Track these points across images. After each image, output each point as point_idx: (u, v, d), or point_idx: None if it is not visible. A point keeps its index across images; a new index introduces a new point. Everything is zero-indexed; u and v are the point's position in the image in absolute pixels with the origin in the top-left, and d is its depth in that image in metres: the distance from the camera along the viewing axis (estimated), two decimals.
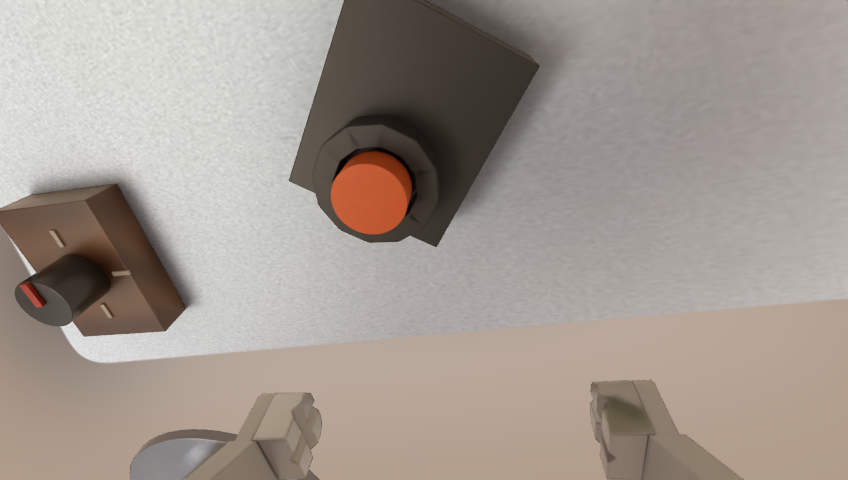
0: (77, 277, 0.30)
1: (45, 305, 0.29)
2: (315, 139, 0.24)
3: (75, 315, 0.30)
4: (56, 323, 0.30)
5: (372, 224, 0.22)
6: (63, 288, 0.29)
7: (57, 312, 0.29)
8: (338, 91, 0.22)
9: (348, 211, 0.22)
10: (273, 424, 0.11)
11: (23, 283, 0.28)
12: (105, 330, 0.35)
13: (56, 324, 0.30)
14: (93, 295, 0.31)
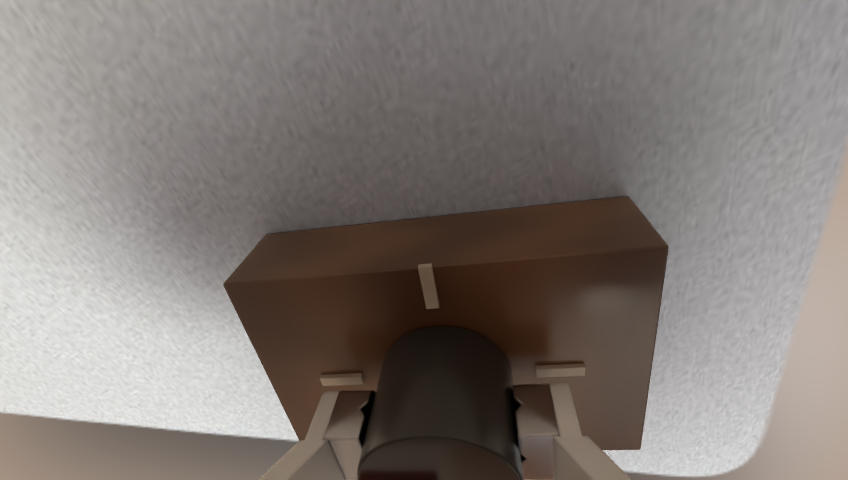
0: (397, 380, 0.11)
1: None
2: None
3: (487, 437, 0.09)
4: None
5: None
6: (390, 421, 0.10)
7: (466, 472, 0.09)
8: None
9: None
10: (343, 423, 0.11)
11: None
12: (629, 400, 0.13)
13: None
14: (464, 370, 0.11)
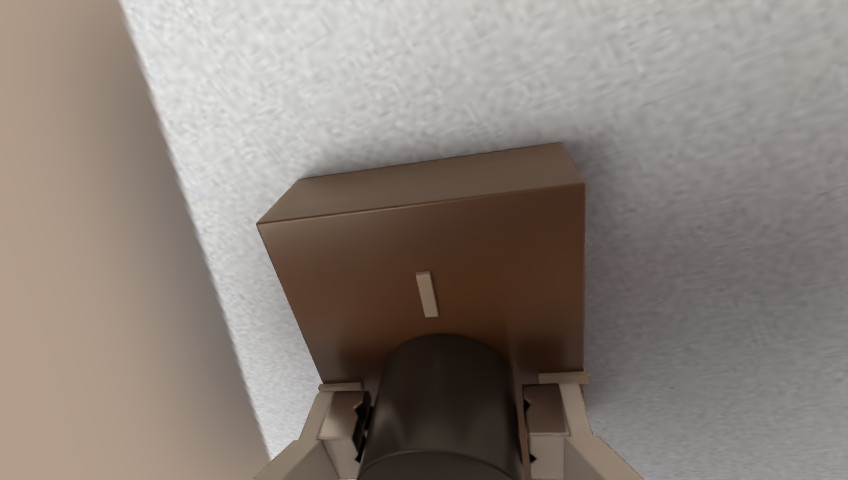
0: (401, 389, 0.10)
1: None
2: None
3: (495, 455, 0.09)
4: None
5: None
6: (395, 432, 0.09)
7: None
8: None
9: None
10: (337, 423, 0.11)
11: None
12: None
13: None
14: (471, 382, 0.10)
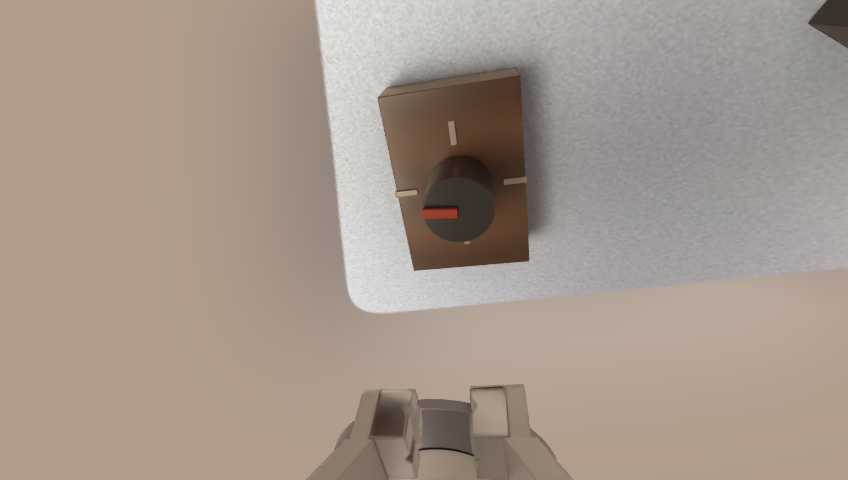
0: (441, 170, 0.24)
1: (458, 208, 0.23)
2: None
3: (481, 183, 0.22)
4: (489, 212, 0.23)
5: None
6: (440, 177, 0.23)
7: (471, 200, 0.23)
8: None
9: None
10: (387, 422, 0.11)
11: (422, 214, 0.23)
12: (448, 261, 0.29)
13: (490, 213, 0.23)
14: (472, 167, 0.24)
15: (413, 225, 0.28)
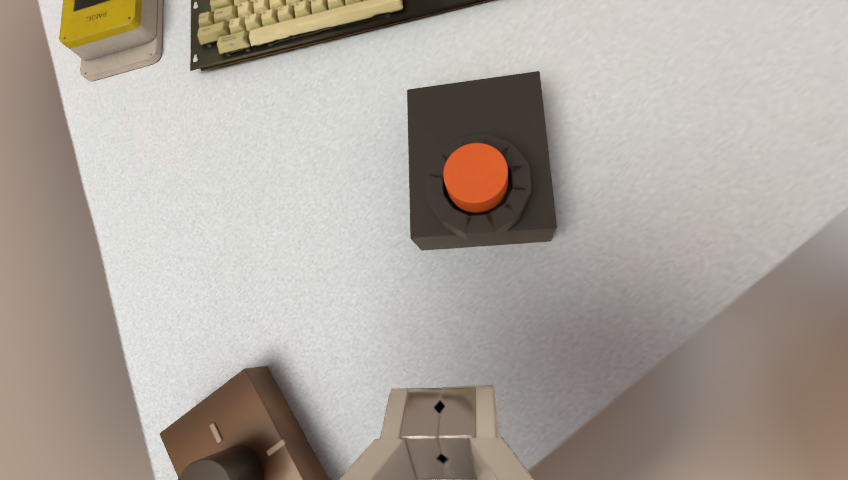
0: None
1: None
2: (419, 194, 0.30)
3: (214, 458, 0.26)
4: None
5: (487, 189, 0.25)
6: None
7: (208, 478, 0.26)
8: (423, 154, 0.31)
9: (464, 189, 0.26)
10: (418, 421, 0.11)
11: None
12: None
13: None
14: (223, 451, 0.28)
15: None
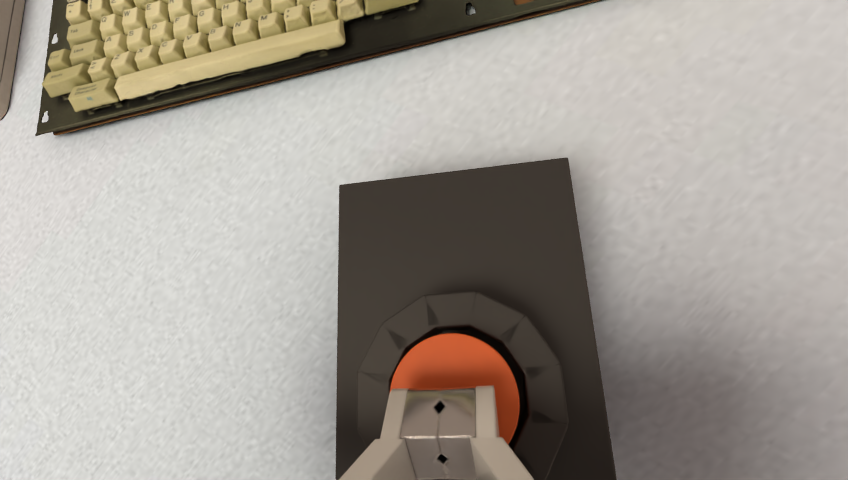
0: None
1: None
2: (355, 388, 0.16)
3: None
4: None
5: None
6: None
7: None
8: (363, 307, 0.17)
9: None
10: (418, 421, 0.11)
11: None
12: None
13: None
14: None
15: None
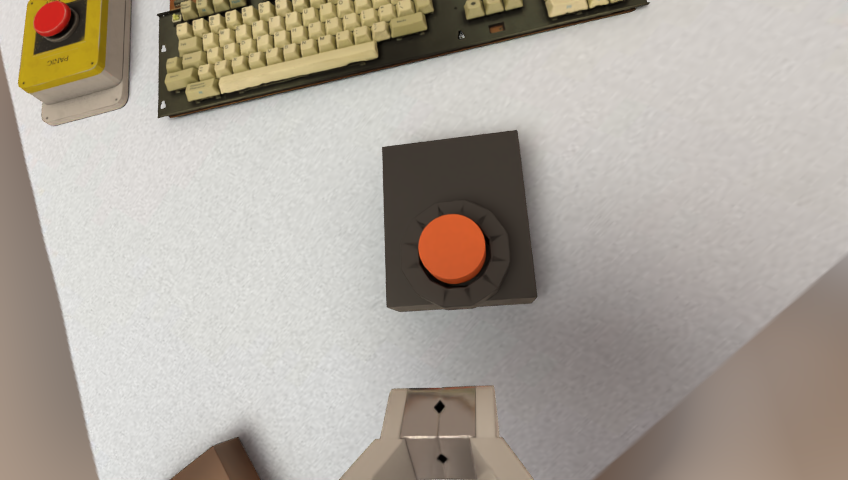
0: None
1: None
2: (396, 259, 0.29)
3: None
4: None
5: (464, 264, 0.24)
6: None
7: None
8: (399, 216, 0.30)
9: (440, 264, 0.25)
10: (418, 421, 0.11)
11: None
12: None
13: None
14: None
15: None
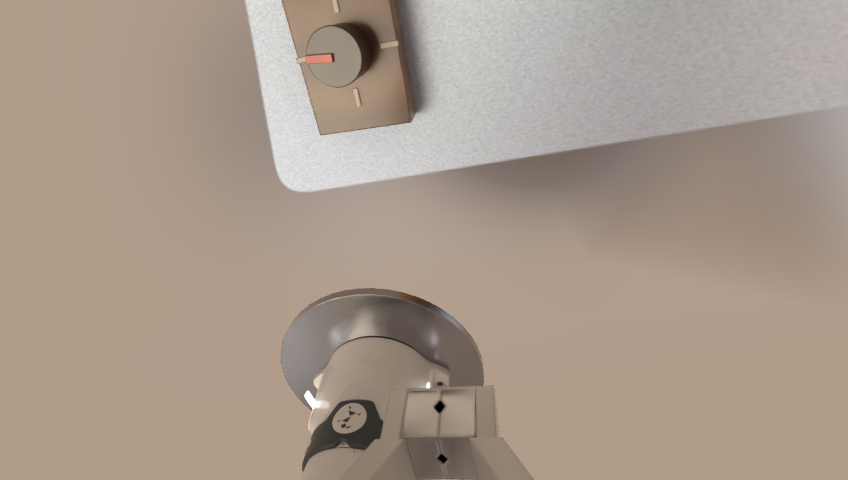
0: None
1: (333, 54, 0.29)
2: None
3: (349, 31, 0.28)
4: (357, 58, 0.29)
5: None
6: None
7: (342, 46, 0.29)
8: None
9: None
10: (418, 421, 0.11)
11: None
12: (346, 125, 0.35)
13: (358, 58, 0.29)
14: (347, 25, 0.30)
15: (315, 90, 0.34)
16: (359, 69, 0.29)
